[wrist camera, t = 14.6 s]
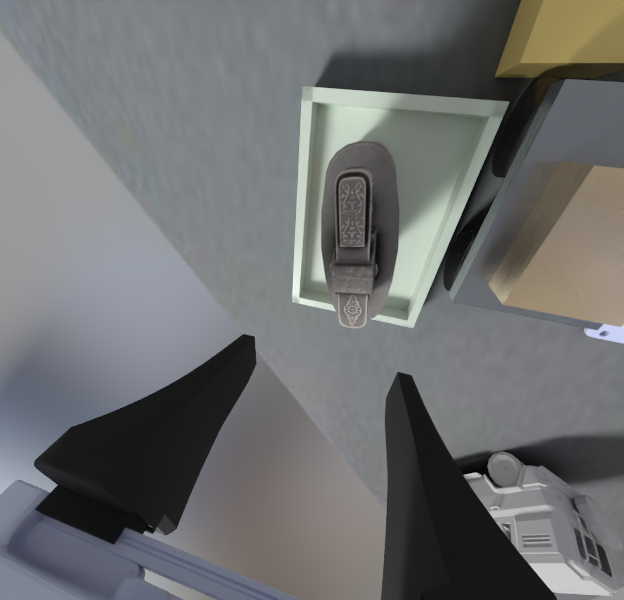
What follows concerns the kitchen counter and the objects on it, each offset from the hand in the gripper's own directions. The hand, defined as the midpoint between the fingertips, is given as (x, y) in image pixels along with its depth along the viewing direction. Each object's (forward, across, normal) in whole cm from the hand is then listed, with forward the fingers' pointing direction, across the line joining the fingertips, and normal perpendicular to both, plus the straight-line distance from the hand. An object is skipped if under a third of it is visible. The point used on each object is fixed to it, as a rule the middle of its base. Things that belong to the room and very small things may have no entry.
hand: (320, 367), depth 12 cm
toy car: (+11, -22, +26) cm, 35 cm away
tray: (+10, -1, -4) cm, 11 cm away
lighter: (+10, -1, -6) cm, 11 cm away
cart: (+10, -10, -7) cm, 16 cm away
